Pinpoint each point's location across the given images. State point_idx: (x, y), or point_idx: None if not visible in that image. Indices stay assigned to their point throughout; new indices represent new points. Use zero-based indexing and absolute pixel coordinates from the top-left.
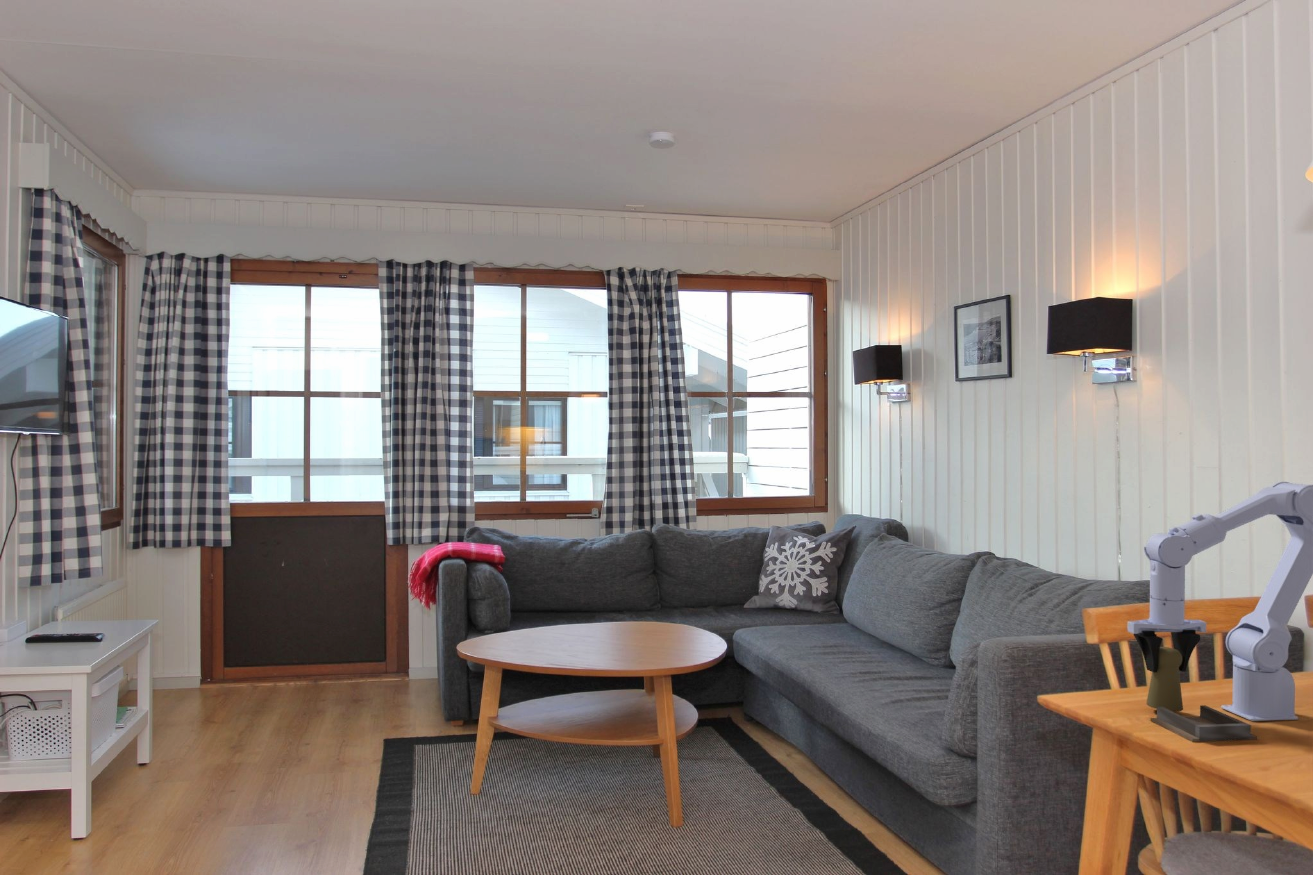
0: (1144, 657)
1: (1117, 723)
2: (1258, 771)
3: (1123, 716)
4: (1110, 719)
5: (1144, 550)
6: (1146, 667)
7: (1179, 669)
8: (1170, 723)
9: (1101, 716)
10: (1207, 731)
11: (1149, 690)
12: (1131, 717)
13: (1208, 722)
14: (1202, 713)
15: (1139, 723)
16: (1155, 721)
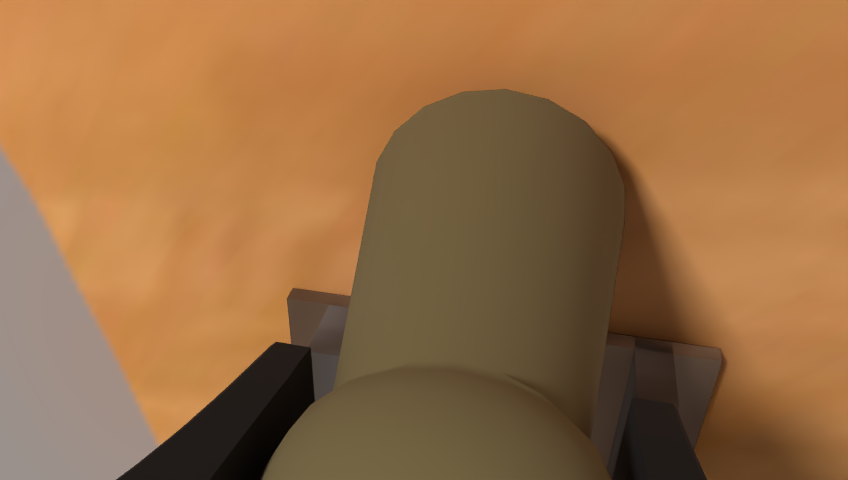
0: (191, 428)
1: (83, 276)
2: None
3: (171, 188)
4: (69, 215)
5: None
6: (259, 357)
7: (619, 457)
8: None
9: (34, 159)
10: None
11: (367, 222)
12: (212, 214)
13: None
14: (632, 383)
15: (205, 303)
16: (292, 332)
